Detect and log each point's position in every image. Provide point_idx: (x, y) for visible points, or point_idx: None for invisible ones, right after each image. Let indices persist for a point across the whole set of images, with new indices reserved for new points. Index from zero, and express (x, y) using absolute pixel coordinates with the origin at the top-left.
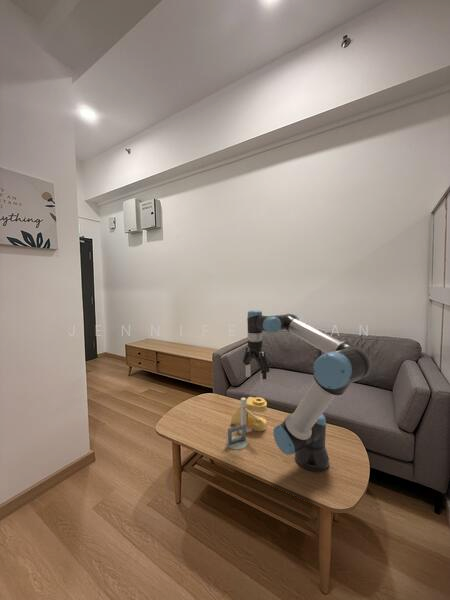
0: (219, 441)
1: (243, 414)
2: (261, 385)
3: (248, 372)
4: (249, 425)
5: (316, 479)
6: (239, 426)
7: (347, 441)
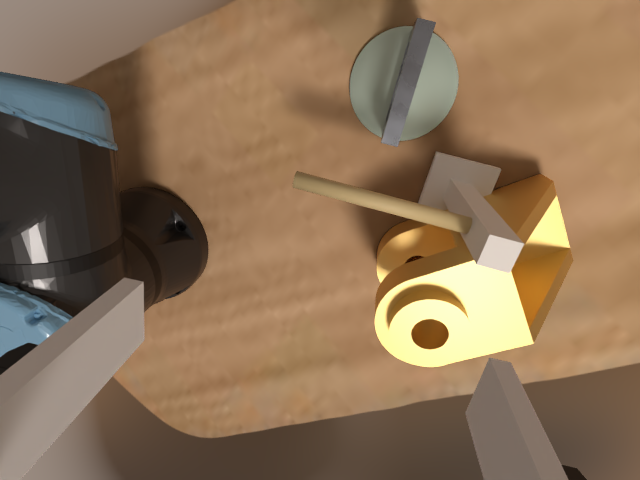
0: (478, 13)
1: (464, 205)
2: (127, 279)
3: (497, 442)
4: None
5: None
6: (401, 104)
7: (158, 393)
